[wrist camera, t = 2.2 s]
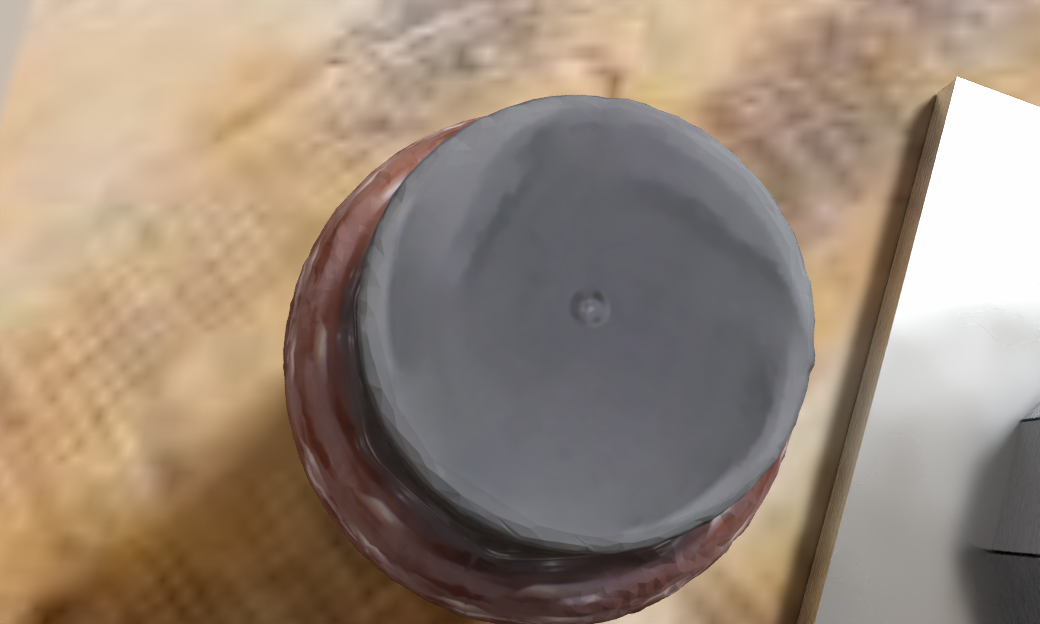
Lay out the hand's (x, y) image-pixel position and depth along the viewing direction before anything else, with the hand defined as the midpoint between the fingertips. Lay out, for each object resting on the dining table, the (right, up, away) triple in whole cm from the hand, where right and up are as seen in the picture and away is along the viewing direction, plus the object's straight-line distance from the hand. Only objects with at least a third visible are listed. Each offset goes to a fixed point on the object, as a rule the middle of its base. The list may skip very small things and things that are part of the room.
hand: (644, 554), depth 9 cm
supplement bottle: (-2, 0, +10) cm, 10 cm away
